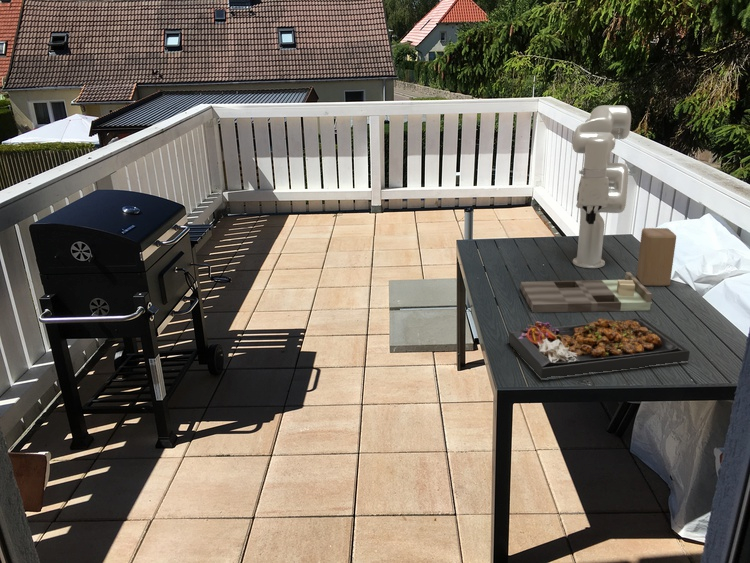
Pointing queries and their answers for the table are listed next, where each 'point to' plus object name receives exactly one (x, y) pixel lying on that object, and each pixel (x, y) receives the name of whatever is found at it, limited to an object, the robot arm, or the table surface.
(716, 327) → the table surface
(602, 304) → the board
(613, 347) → the food platter
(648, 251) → the block
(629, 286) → the birch block
